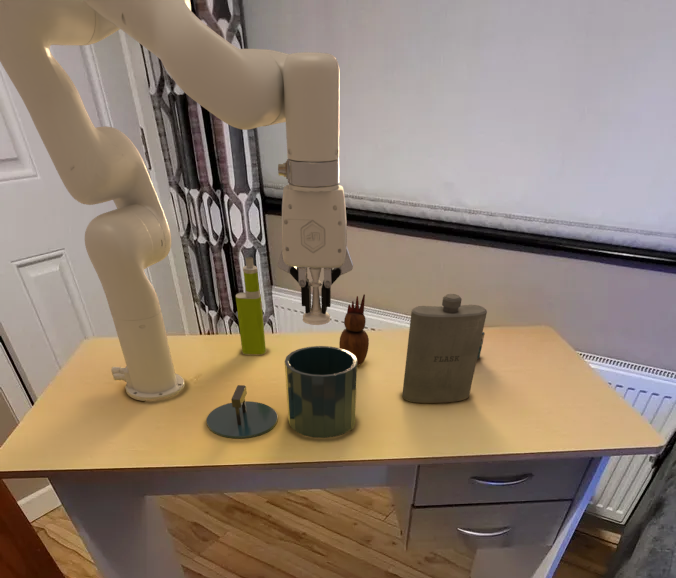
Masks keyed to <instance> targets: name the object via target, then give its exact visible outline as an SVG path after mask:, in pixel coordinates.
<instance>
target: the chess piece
mask: <svg viewBox="0 0 676 578" xmlns="http://www.w3.org/2000/svg"><path fill="white" fill-rule="evenodd" d="M308 269H309V272H310V275H311V280H312V281H309V282H310V284H309V285H310V286H311V288H312V296H311V309H310V313H305V312H304V313H303V315H302V321H303V323H305V324H307V325H311V326H321V325H326V324H328V323H330V321H331V315H330V313H328V312H327V311H326V314H323V313H322V306H321V297H320V287H322V285H323V282H322V281H320V276H321V273H322V268H312V267H308Z"/></svg>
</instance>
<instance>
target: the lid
mask: <svg viewBox="0 0 676 578" xmlns="http://www.w3.org/2000/svg"><path fill="white" fill-rule="evenodd" d="M247 393H248V392H247V385H245V384H244V385H242V384H241V385H240V384H237V386H236V387H235V390H234V392H233V395H232V396H231V399H230V401H231V402H229V403H224V404H223V405H222V404H221V405H220V406H217V407H216V408H214V409H213V410H211V411H210V412H209V413H208V415H207V416H206V426H207V428H208V429H209V431H210V432H212V433H213V434H215V435H217V436H220V437H223V438H227V439H237V440H239V439H241V440H242V439H249V438H251V439H252V438H255V437H256V438H257V437H259V436H262V435H264V434H266V433H268V432H270V431H271V430H273V429H274V428H275V427H276V426H277V424H278V419H279V418H278V413H277V412H276V410H275V409H274V408H273V407H272V406H269V405H268V404H265V403H262V402H257V401H247V400H246V397H247Z"/></svg>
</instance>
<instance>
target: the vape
mask: <svg viewBox="0 0 676 578" xmlns="http://www.w3.org/2000/svg"><path fill="white" fill-rule="evenodd" d="M258 270H259V269H258V266H257V265H254V258H253V257H252V256H248V257H247V256H246V257H245V265H244V266H242V271H243V280H244V281H243V282H244V288H245V290H244V292H237V293H236V294H235V303H236V311H237V319H238V320H237V321H238V327H239V335H240V343H241V344H240V345H241V352H242V354H243V355H245V356H248V355H249V356H263V355H265V354H266V353H267V349H266V347H267V346H266V337H265V325H264V315H263V301H262V294H261V291H260V283H259V273H258Z"/></svg>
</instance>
